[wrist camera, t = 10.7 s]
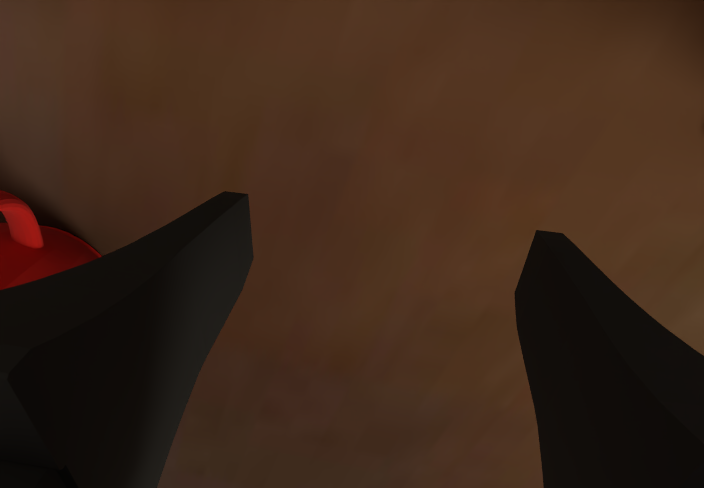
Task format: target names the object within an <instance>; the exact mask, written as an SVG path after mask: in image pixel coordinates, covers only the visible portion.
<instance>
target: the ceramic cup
mask: <svg viewBox="0 0 704 488" xmlns="http://www.w3.org/2000/svg"><path fill="white" fill-rule="evenodd" d="M0 211H2V213H3V215H4V216H5V218H6V220H7V223H0V290H2V289H6V288H10V287H14V286H17V285H21V284H24V283H28V282H31V281H35V280H38V279H41V278H44V277H47V276H50V275H53V274H56V273H59V272H62V271H65V270H68V269H70V268H73V267H76V266H79V265H82V264H85V263H87V262H90V261H92V260H95V259H97V258H100V257H102V256H101V255H100V254H99V253H98V252H97V251H96V250H95V249H93V248H92V247H91V246H90V245H88V244H87V243H85V242H84V241H83V240H81V239H80V238H78V237H76V236H74V235H72V234H70V233H68V232H65V231H63V230H60V229H57V228H53V227H48V226H40V225H38V223H37V220H36V218H35V216H34V214H33V212H32V210H31V209H30V207H29V206H28V205H27V204H26V203H25V202H23V201H22V200H21V199H19V198H18V197H16V196H14V195H13V194H11V193H8V192H5V191H2V190H0Z"/></svg>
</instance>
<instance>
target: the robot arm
mask: <svg viewBox="0 0 704 488" xmlns="http://www.w3.org/2000/svg"><path fill="white" fill-rule="evenodd" d="M252 261H253V247H252V235H251V223H250V211H249V199H248V194H242V193H234V192H226V191H225V192H223V193H221V194H219V195H217V196H215V197H213V198H211V199H210V200H208V201H206V202H205V203H203V204H201V205H200V206H198V207H196V208H194V209H193V210H191V211H189V212H188V213H186V214H184V215H183V216H181V217H179V218H177V219H176V220H174V221H172V222H171V223H169V224H167V225H165V226H163V227H162V228H160V229H158V230H156V231H154V232H152V233H150V234H148V235H146V236H144V237H142V238H141V239H139V240H137V241H135V242H133V243H131V244H129V245H127V246H125V247H123V248H120V249H118V250H116V251H114V252H112V253H109V254H107V255H104V256H102V257H100V258H97V259H95V260H92V261H90V262H87V263H85V264H82V265H79V266H76V267H73V268H70V269H68V270H65V271H62V272H59V273H56V274H53V275H50V276H47V277H44V278H41V279H38V280H35V281H31V282H28V283H24V284H21V285H17V286H14V287H10V288H6V289H2V290H0V488H157V486H158V483H159V480H160V477H161V474H162V471H163V468H164V465H165V462H166V459H167V456H168V453H169V450H170V448H171V445H172V442H173V439H174V436H175V434H176V431H177V428H178V426H179V423H180V420H181V418H182V415H183V412H184V409H185V407H186V404H187V402H188V399H189V397H190V394H191V392H192V389H193V387H194V384H195V382H196V379H197V377H198V374H199V372H200V370H201V367H202V365H203V363H204V361H205V359H206V357H207V355H208V353H209V351H210V349H211V348H212V346H213V344H214V342H215V340H216V338H217V336H218V334H219V333H220V331H221V329H222V327H223V325H224V323H225V321H226V320H227V318H228V316H229V314H230V312H231V310H232V308H233V306H234V304H235V302H236V301H237V299H238V297H239V295H240V293H241V291H242V289H243V286H244V283H245V281H246V278H247V275H248V272H249V269H250V266H251V263H252ZM515 309H516V322H517V330H518V335H519V340H520V345H521V349H522V354H523V359H524V363H525V367H526V372H527V376H528V381H529V385H530V390H531V394H532V399H533V403H534V407H535V413H536V419H537V425H538V433H539V442H540V452H541V461H542V472H543V483H544V488H704V356H703V355H701V354H700V353H699V352H697V351H696V350H694V349H693V348H691V347H690V346H689V345H687V344H686V343H685V342H683V341H682V340H681V339H679V338H678V337H677V336H675V335H674V334H673V333H671V332H670V331H669V330H667V329H666V328H665V327H663V326H662V325H661V324H660V323H658V322H657V321H656V320H655V319H653V318H652V317H651V316H650V315H649V314H648V313H646V312H645V311H644V310H643V309H642V308H641V307H639V306H638V305H637V304H636V303H635V302H634V301H632V300H631V299H630V298H629V297H628V296H627V295H626V294H625V293H624V292H623V291H621V290H620V289H619V288H618V287H617V286H616V285H615V284H614V283H613V282H612V281H611V280H610V279H609V278H608V277H607V276H606V275H605V274H604V273H603V272H602V271H601V270H600V269H599V268H598V267H597V266H596V265H595V264H594V263H593V262H592V261H591V260H590V259H589V258H588V257H587V256H586V255H585V254H584V253H583V252H582V251H581V250H580V249H579V248H578V247H577V246H576V245H575V244H574V243H572V242H571V241H570V240H569V239H568V238H567V237H566V236H565V235H564V234H563V233H555V232H547V231H539V230H536V233H535V236H534V239H533V242H532V245H531V247H530V250H529V253H528V256H527V259H526V262H525V265H524V268H523V271H522V273H521V276H520V279H519V282H518V285H517V288H516V291H515Z"/></svg>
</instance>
